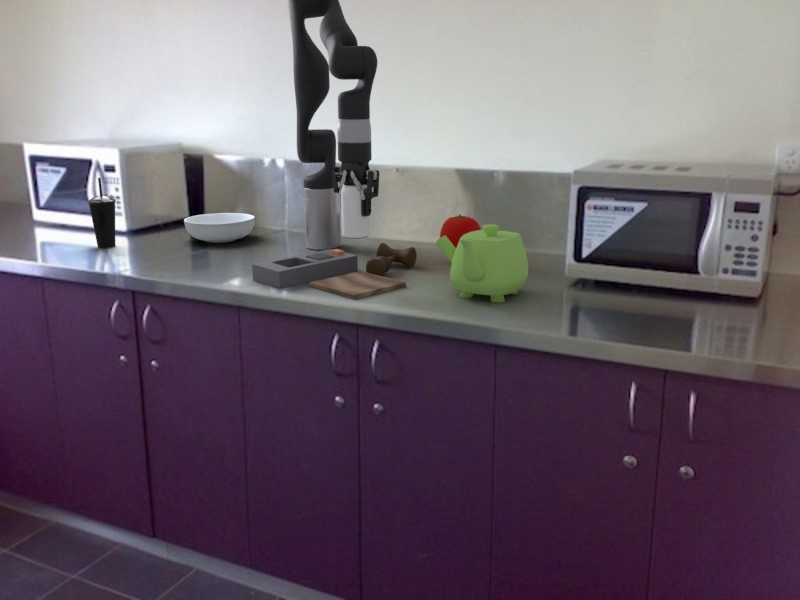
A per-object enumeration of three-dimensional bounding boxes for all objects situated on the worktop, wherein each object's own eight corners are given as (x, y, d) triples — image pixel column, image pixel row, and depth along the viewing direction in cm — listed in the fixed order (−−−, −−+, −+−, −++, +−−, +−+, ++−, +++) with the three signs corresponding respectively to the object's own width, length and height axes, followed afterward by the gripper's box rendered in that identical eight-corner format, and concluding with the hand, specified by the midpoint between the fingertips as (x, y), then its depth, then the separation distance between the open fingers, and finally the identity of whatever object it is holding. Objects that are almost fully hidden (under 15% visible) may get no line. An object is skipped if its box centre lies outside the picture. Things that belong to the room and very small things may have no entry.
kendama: (356, 278, 194) (389, 259, 212) (392, 283, 191) (422, 263, 208) (356, 254, 192) (389, 237, 210) (392, 259, 189) (423, 241, 206)
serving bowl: (266, 235, 246) (265, 213, 244) (238, 248, 226) (237, 225, 224) (205, 232, 250) (203, 211, 248) (172, 245, 231) (170, 222, 229)
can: (366, 239, 177) (365, 186, 174) (338, 238, 179) (337, 185, 175) (373, 234, 183) (372, 182, 180) (346, 233, 185) (345, 181, 181)
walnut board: (360, 274, 195) (360, 270, 195) (405, 286, 184) (405, 282, 184) (309, 286, 184) (309, 282, 184) (354, 299, 173) (353, 295, 173)
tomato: (487, 266, 203) (488, 217, 199) (447, 269, 200) (448, 219, 197) (472, 257, 213) (473, 210, 210) (434, 259, 211) (435, 212, 207)
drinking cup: (126, 245, 230) (119, 177, 225) (104, 250, 224) (96, 180, 219) (109, 243, 234) (101, 175, 229) (87, 247, 228) (79, 178, 223)
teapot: (456, 277, 193) (457, 212, 188) (540, 288, 182) (543, 220, 178) (405, 301, 172) (404, 230, 168) (495, 315, 161) (498, 239, 157)
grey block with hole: (330, 264, 207) (329, 246, 205) (357, 271, 199) (357, 252, 198) (252, 280, 191) (251, 260, 189) (279, 288, 183) (278, 268, 182)
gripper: (388, 140, 173) (389, 216, 177) (346, 137, 183) (348, 208, 187) (363, 142, 168) (364, 220, 172) (321, 139, 178) (323, 212, 182)
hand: (355, 213), depth 180 cm, fingers closed on can, 6 cm apart
